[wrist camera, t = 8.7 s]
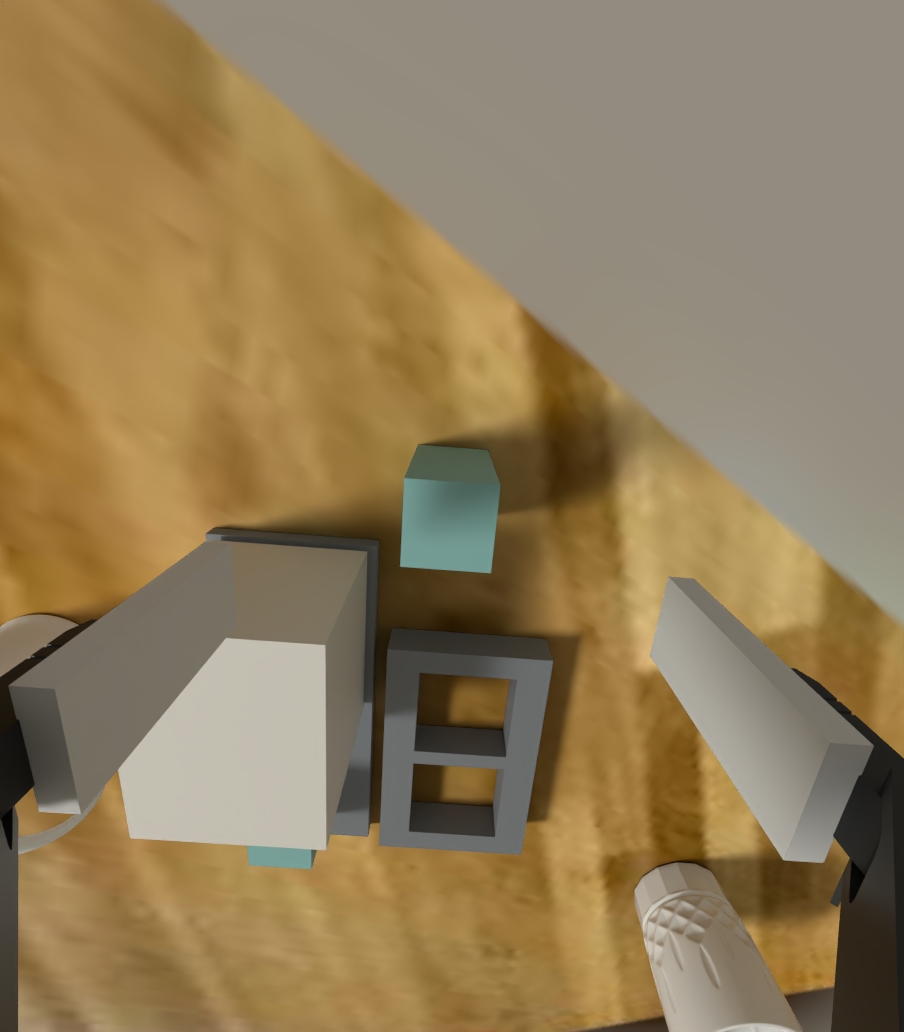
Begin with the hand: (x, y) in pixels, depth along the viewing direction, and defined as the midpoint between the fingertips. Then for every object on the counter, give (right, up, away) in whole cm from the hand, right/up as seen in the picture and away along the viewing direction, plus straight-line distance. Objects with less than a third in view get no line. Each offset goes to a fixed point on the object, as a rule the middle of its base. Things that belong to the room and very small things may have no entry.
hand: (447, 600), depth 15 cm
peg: (0, +5, +14) cm, 14 cm away
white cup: (+18, -27, +24) cm, 41 cm away
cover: (-10, -4, +15) cm, 18 cm away
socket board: (+1, -13, +19) cm, 23 cm away
